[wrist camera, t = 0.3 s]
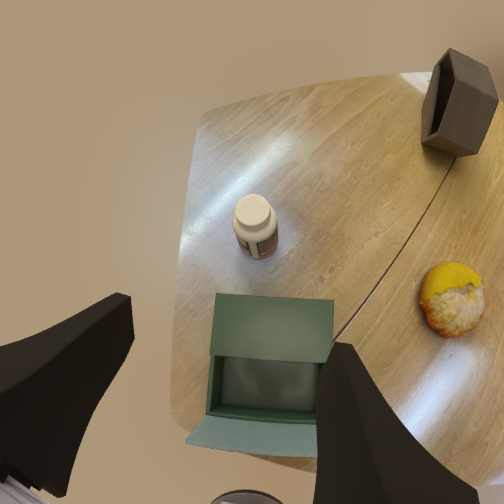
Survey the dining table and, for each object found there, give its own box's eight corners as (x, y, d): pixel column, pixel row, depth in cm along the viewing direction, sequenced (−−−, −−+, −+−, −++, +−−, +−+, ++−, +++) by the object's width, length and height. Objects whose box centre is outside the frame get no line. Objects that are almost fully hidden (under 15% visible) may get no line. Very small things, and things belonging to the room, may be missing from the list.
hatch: (324, 424, 28) (324, 427, 27) (204, 414, 29) (204, 418, 29) (333, 453, 21) (333, 457, 21) (185, 440, 22) (185, 443, 22)
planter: (427, 74, 46) (459, 34, 27) (459, 88, 45) (500, 56, 25) (414, 146, 51) (449, 130, 32) (446, 159, 50) (492, 152, 30)
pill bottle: (278, 223, 43) (276, 188, 34) (277, 259, 41) (276, 231, 32) (240, 223, 44) (229, 189, 35) (238, 259, 42) (226, 232, 33)
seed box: (317, 413, 34) (325, 426, 27) (217, 405, 36) (203, 416, 29) (325, 309, 39) (334, 299, 32) (227, 303, 40) (215, 292, 33)
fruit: (406, 332, 36) (434, 307, 29) (413, 271, 42) (436, 239, 35) (467, 351, 33) (500, 329, 27) (469, 291, 39) (496, 264, 33)
